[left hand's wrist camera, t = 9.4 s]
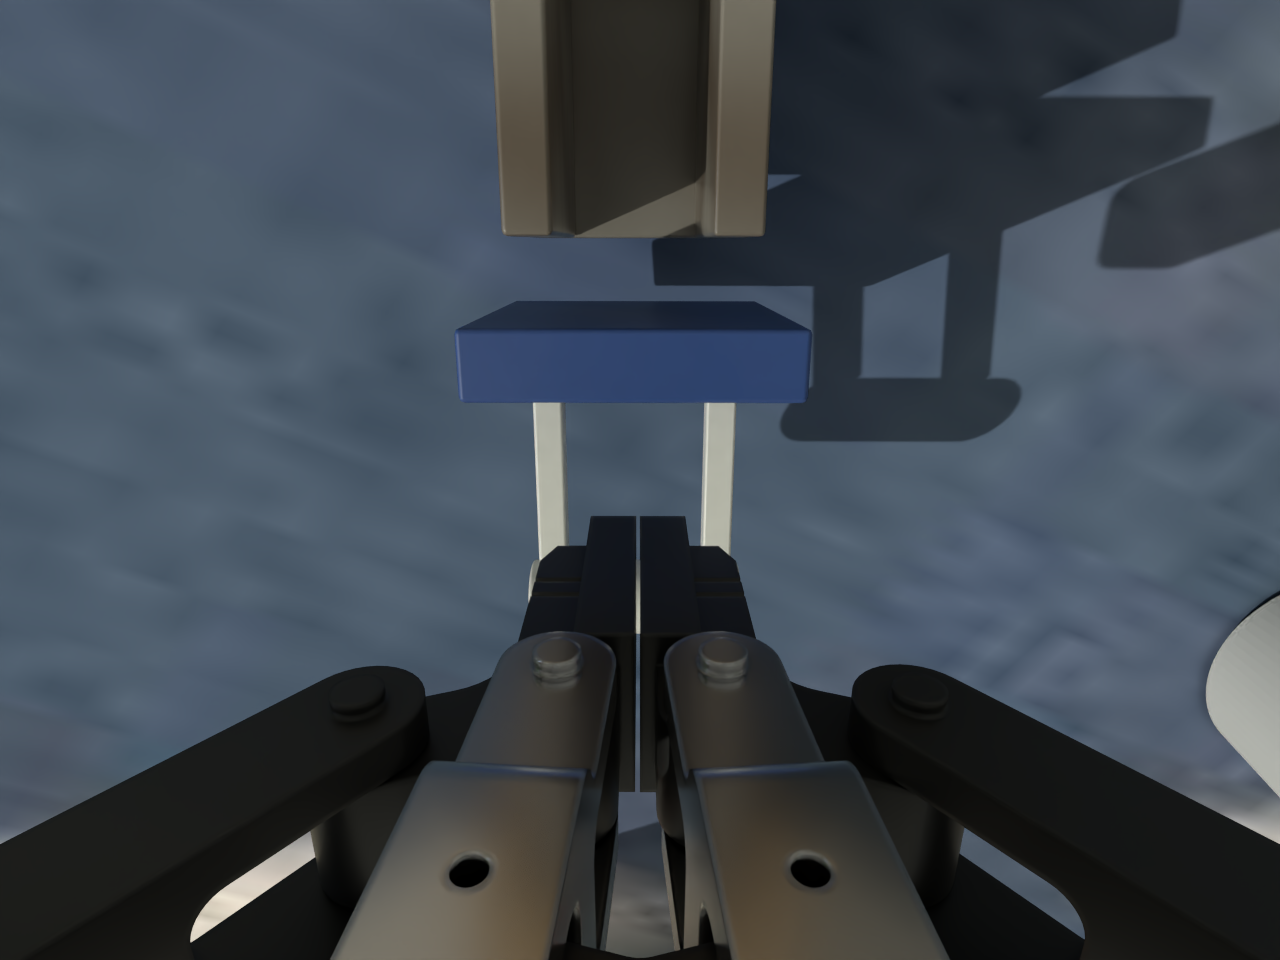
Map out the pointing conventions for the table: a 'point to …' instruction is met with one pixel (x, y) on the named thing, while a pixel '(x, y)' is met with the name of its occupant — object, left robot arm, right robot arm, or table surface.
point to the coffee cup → (1250, 691)
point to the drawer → (633, 223)
